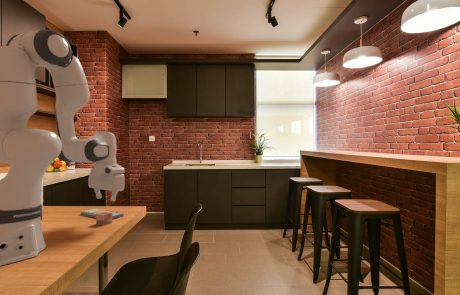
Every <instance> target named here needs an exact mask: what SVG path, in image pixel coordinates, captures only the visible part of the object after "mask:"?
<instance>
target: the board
mask: <svg viewBox="0 0 460 295" xmlns="http://www.w3.org/2000/svg"><path fill="white" fill-rule="evenodd" d="M103 212H109V213H112V220H114V219H118V218H122V217H124V213H122V212H117V211H116V212H115V211H111V210H107V209H101V208H92V209H91V208H90V209H86V210H82V211H81V212H80V215H81V216H85V217H88V218H94V219H96V214H98V213H103Z"/></svg>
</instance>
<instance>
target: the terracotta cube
mask: <svg viewBox="0 0 460 295" xmlns="http://www.w3.org/2000/svg"><path fill="white" fill-rule="evenodd" d="M95 220H96V222H95V224H96V225H98V226H107V225H111V224H113V219H112V213H109V212H103V213H98V214H96V218H95Z"/></svg>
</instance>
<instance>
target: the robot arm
mask: <svg viewBox="0 0 460 295" xmlns="http://www.w3.org/2000/svg"><path fill="white" fill-rule="evenodd" d="M38 67H39V68H40V67H42V68H46V70H47V71H48V72H49V74H50V75H51V79H52V83H53V86H54V91H55V100H56V101H55V104H54V110H53V111H54V118H55V124H56V129H57V133H56V132H53V131H51V130H47V129H41V128H27V125H28V122H29V119H30V117H32V116H33V115H34V114H35V113H36V112H37V111H38V108H39V106H38V104H39V103H38V92H37V82H36V76H35V74H36V70H37V68H38ZM90 99H91V92H90V87H89V84H88V78H87V75H86V74H85V71H84V67H83V66H82V64H81V62H80V59H79V58H78V57H76V56H74V54H73V50H72V47H71V45H70V42H69V41H68V39H67V38H66V37H65V36H64V35H63V34H62V33H61V32H59V31H56V30H53V29H40V30H29V31H26V32H23V33H19V34H15V35H13V36H12V37H10V38H9V39H8V40H7V42H6V45H3V46H2V45H1V46H0V164H1V163H3V164H10V167H9V170H8V172H7V173H6V175H5V176H4V177H3V178H1V179H0V267H1V266H4V265H7V264H12V263H16V262H20V261H24V260H28V259H31V258H35V257H37V256H38V254H39V253H40V252H41V251H43V250H44V249H45V248H46V247H47V244H46V241H45V238H44V235H43V233H44V232H43V228H42V221H43V217H42V204H41V184H42V179H43V180H44V175H45V173H46V171H47V169H48V167H49V166H50V165H51V164H52V162H53V161H55V160H57V159H58V158H60V159H61V160H62V161H63V162H65V163H67V164H68V163H69V164H72V163H74V164H75V163H94V164H93V165H94V166H93V167H92V168H91V169H90V172H89V173H88V174H89V175H88V181H87V182H88V184H87V185H88V187H89V189H90V188H91V189H94V190H93V192H94V193H95V198H96V199H99V200H101V199H102V198H103V195H102V193H101V190H102V191H103V190H104V191H110V192H111V196H110V197H109V201H111V202H116V198H117V195H118V193H119V192H122V191H124V190H125V186H126V185H125V184H126V182H125V181H126V180H125V179H126V177H125V174H124V173H126V171H125V167H123V166H122V165H120V164H118V161H117V158H116V157H117V156H116V154H117V151H118V150H117V139H116V135H115V134H114V133H113V132H110V131H105V130H98V131H96V132H95V134H94V135H91V136H90V137H87V138H78V137H77V136H76V130H75V122H74V116H75V114H76V113H77V112H78V111H80V110H81V109H83V108H84V107H86V105H87V104H88V103H89V102H90Z"/></svg>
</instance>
